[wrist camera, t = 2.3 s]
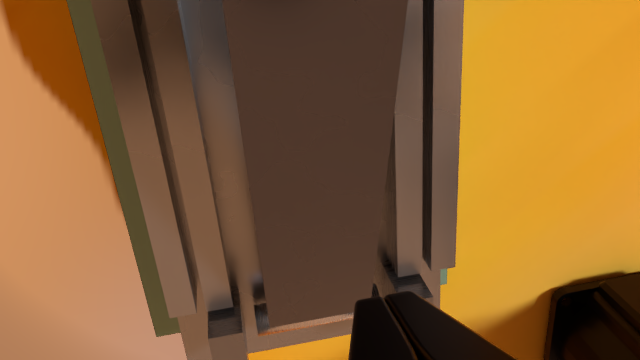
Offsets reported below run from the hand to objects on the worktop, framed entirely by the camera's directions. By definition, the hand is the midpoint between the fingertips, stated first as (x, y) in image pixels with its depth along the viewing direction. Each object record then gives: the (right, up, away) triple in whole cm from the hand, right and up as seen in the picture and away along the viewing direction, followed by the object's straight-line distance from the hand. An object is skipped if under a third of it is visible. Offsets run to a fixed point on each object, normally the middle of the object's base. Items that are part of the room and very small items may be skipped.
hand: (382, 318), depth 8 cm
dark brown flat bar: (-1, +3, +6) cm, 6 cm away
